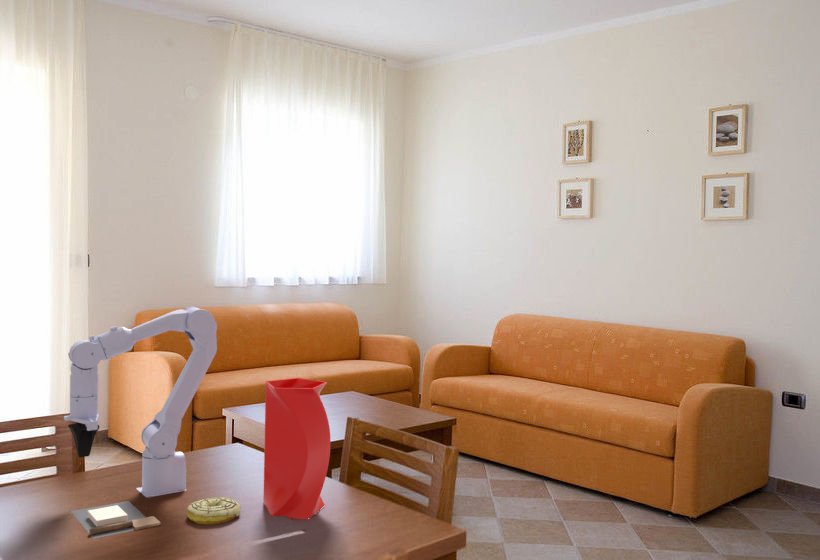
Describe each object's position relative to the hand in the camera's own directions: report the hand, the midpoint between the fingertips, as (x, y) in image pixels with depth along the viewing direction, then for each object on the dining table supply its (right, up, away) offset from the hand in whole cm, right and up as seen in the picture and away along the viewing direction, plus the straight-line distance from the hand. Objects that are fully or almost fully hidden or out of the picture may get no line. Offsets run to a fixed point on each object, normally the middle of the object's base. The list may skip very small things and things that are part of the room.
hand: (83, 456), depth 163 cm
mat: (+10, -11, -10) cm, 18 cm away
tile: (+8, -9, -8) cm, 15 cm away
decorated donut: (+31, -12, -7) cm, 34 cm away
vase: (+46, -12, -1) cm, 47 cm away
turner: (+15, -11, -15) cm, 24 cm away
